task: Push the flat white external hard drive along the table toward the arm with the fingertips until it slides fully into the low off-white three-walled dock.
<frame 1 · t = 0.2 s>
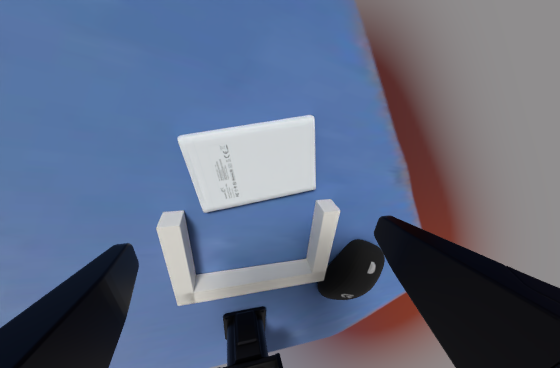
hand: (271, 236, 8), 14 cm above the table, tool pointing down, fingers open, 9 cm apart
computer mouse: (343, 265, 34), on the table
dock: (254, 244, 26), on the table
external hard drive: (254, 161, 22), on the table
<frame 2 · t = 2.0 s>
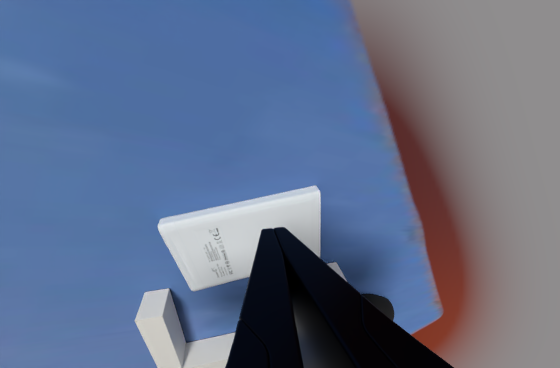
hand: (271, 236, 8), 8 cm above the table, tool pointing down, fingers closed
computer mouse: (349, 316, 31), on the table
dock: (250, 310, 24), on the table
external hard drive: (250, 232, 19), on the table
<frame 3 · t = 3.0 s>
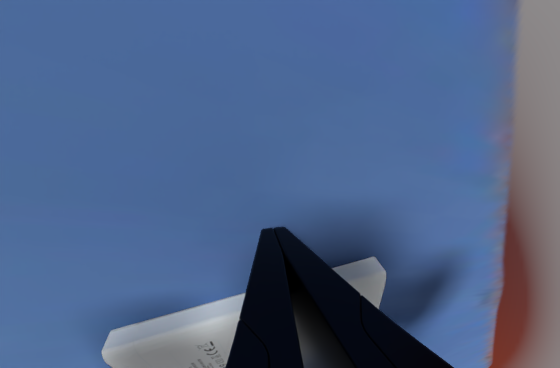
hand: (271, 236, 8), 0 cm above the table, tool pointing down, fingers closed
external hard drive: (264, 318, 12), on the table
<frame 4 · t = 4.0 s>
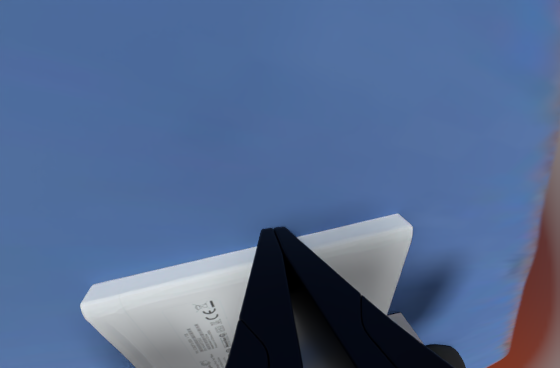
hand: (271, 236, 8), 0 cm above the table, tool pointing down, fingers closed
external hard drive: (270, 288, 11), on the table
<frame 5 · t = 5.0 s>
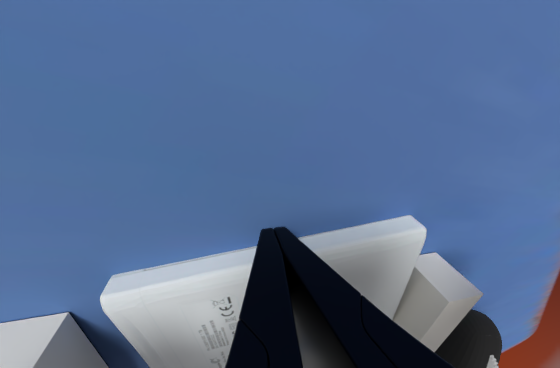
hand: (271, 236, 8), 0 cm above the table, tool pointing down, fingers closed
computer mouse: (417, 342, 19), on the table
dock: (264, 346, 12), on the table
external hard drive: (280, 287, 11), on the table
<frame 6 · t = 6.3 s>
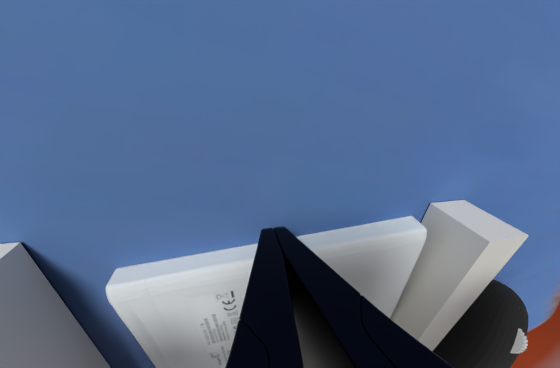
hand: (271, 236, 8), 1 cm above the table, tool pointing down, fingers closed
computer mouse: (432, 320, 18), on the table
dock: (265, 311, 11), on the table
external hard drive: (281, 284, 11), on the table
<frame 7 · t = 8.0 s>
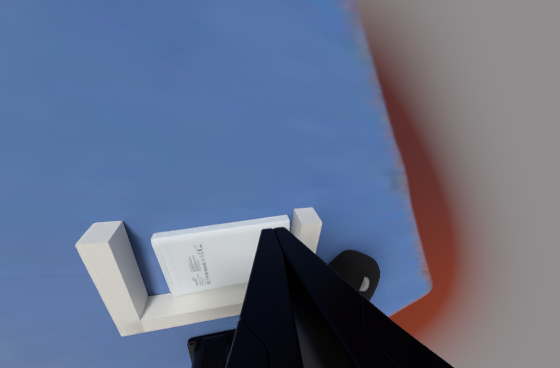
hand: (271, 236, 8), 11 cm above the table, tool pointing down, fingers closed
computer mouse: (333, 279, 29), on the table
dock: (219, 260, 22), on the table
external hard drive: (229, 248, 22), on the table
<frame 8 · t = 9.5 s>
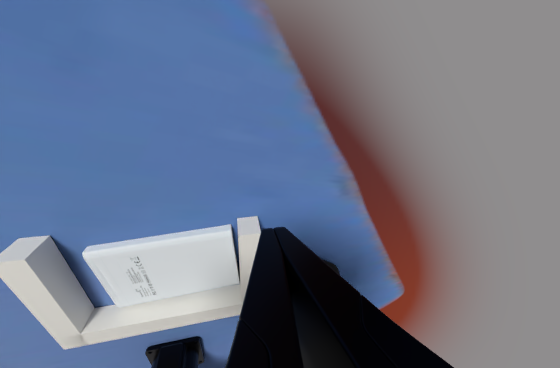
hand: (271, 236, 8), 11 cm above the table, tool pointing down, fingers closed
dock: (165, 271, 21), on the table
external hard drive: (176, 258, 22), on the table
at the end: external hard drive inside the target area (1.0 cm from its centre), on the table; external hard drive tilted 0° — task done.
